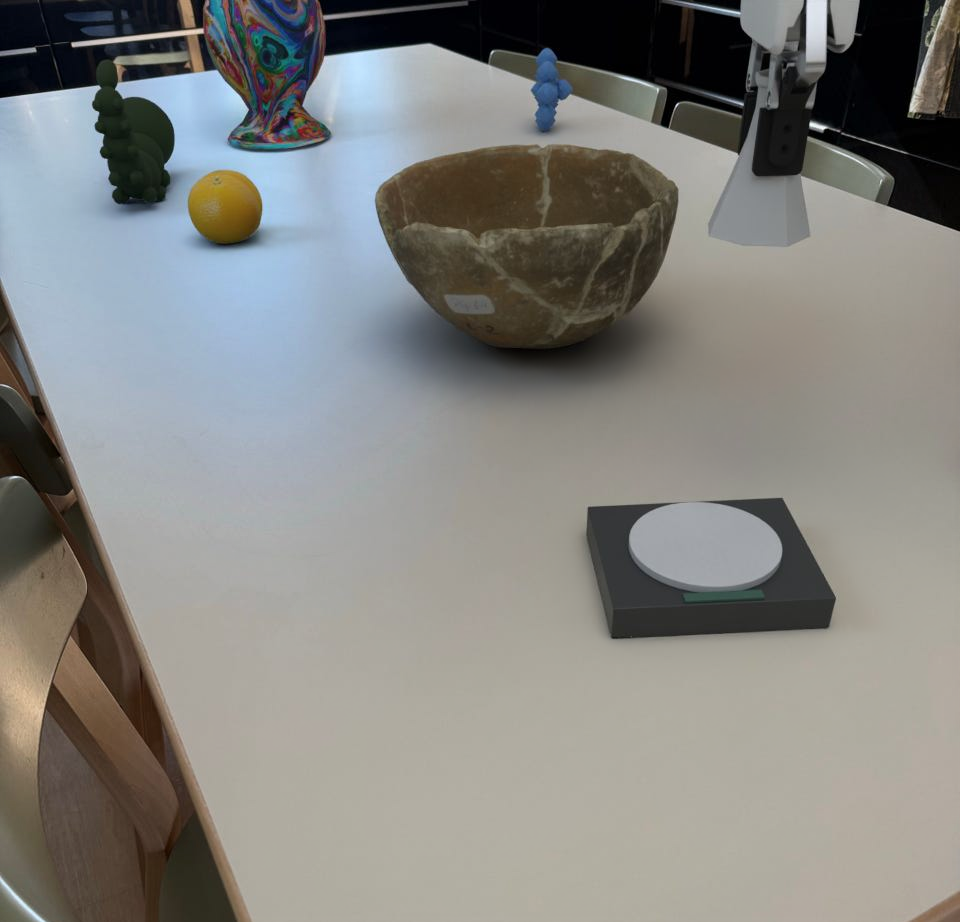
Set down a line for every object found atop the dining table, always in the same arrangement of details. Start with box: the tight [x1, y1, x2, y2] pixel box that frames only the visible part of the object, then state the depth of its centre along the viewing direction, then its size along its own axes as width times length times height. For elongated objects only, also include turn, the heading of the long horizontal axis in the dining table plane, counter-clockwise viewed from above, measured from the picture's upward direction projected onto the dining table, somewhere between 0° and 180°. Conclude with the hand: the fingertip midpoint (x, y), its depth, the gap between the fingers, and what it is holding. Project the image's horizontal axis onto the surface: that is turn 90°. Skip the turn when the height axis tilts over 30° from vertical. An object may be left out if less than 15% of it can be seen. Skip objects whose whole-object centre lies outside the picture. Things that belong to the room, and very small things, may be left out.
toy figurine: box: [91, 59, 176, 205], centre depth 137 cm, size 9×19×25 cm
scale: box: [585, 497, 837, 639], centre depth 68 cm, size 14×12×3 cm
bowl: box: [374, 143, 680, 350], centre depth 96 cm, size 28×27×15 cm
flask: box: [707, 69, 811, 248], centre depth 68 cm, size 7×7×10 cm
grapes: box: [530, 47, 574, 132], centre depth 161 cm, size 12×7×12 cm, turn 179°
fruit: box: [187, 169, 263, 244], centre depth 124 cm, size 9×8×8 cm
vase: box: [202, 0, 332, 150], centre depth 155 cm, size 18×18×30 cm
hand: (768, 163), depth 68 cm, fingers closed on flask, 3 cm apart
